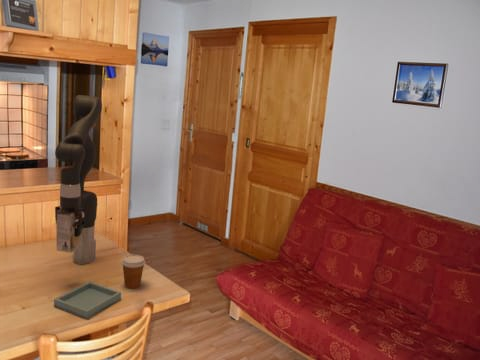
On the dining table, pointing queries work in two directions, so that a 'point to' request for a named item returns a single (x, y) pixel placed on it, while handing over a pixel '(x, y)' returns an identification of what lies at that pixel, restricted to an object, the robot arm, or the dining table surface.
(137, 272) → the disposable coffee cup
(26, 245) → the dining table surface
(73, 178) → the robot arm
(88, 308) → the tray
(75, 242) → the coffee box
